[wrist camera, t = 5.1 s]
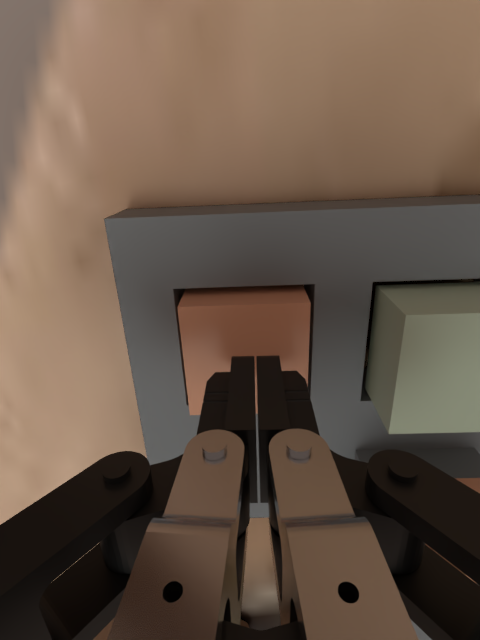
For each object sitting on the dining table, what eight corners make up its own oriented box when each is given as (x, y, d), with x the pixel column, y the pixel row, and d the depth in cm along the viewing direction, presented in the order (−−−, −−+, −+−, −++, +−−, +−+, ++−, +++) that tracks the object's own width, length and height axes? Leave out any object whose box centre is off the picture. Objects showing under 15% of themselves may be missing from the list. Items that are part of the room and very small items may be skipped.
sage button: (499, 281, 14) (558, 310, 11) (474, 384, 15) (520, 431, 13) (376, 285, 14) (406, 315, 11) (364, 387, 15) (388, 433, 13)
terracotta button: (299, 277, 15) (310, 302, 12) (297, 373, 17) (306, 412, 14) (189, 281, 15) (177, 307, 12) (198, 375, 17) (189, 415, 14)
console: (739, 183, 14) (1365, 218, 6) (608, 470, 20) (849, 678, 12) (126, 209, 15) (-11, 269, 7) (168, 478, 20) (119, 679, 12)
